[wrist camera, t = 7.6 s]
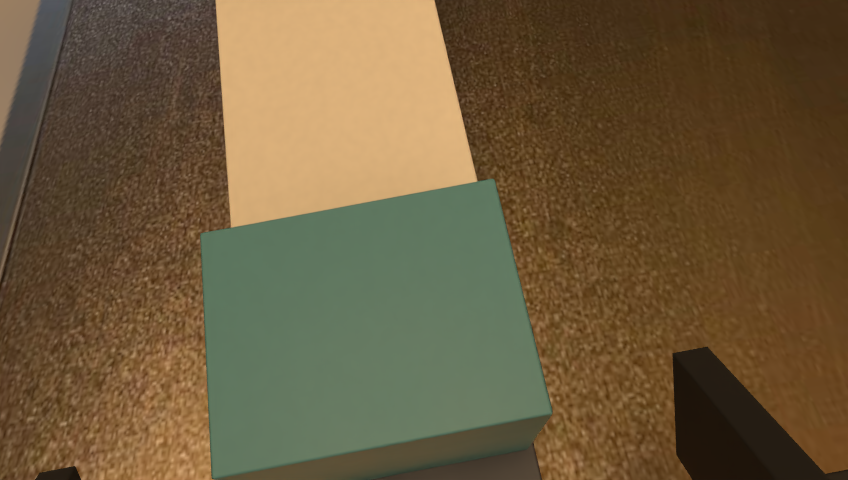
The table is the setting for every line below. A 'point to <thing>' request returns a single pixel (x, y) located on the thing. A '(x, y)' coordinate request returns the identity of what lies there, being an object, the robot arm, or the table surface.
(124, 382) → the table surface
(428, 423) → the stepped block stack
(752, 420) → the robot arm
